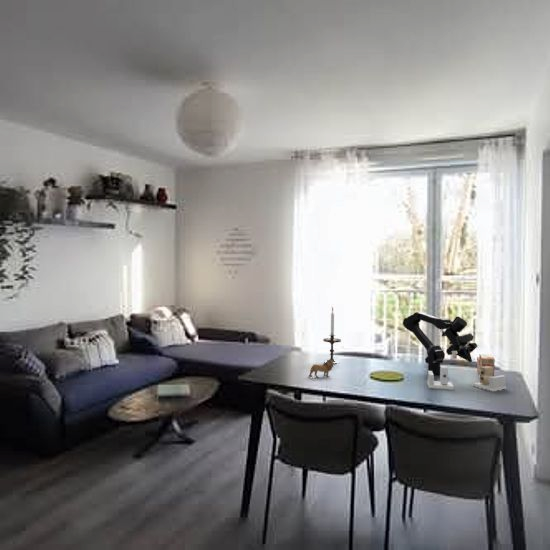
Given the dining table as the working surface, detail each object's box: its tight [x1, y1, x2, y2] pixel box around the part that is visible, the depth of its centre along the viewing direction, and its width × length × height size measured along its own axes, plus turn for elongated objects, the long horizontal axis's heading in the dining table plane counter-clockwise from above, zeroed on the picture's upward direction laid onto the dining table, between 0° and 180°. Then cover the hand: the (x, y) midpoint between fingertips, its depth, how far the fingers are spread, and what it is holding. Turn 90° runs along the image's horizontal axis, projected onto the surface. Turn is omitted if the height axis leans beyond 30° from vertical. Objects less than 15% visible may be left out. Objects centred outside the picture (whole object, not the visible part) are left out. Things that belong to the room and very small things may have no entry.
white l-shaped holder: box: [472, 374, 507, 392], centre depth 240 cm, size 12×10×6 cm
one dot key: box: [439, 364, 449, 384], centre depth 240 cm, size 3×6×8 cm, turn 167°
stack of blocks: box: [476, 353, 496, 377], centre depth 265 cm, size 21×6×12 cm, turn 163°
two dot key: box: [479, 366, 493, 384], centre depth 241 cm, size 3×6×8 cm, turn 120°
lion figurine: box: [307, 358, 335, 378], centre depth 259 cm, size 15×5×9 cm, turn 112°
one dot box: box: [426, 370, 455, 390], centre depth 241 cm, size 12×10×6 cm
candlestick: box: [322, 306, 342, 362], centre depth 298 cm, size 11×11×35 cm
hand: (471, 361), depth 249 cm, fingers closed
